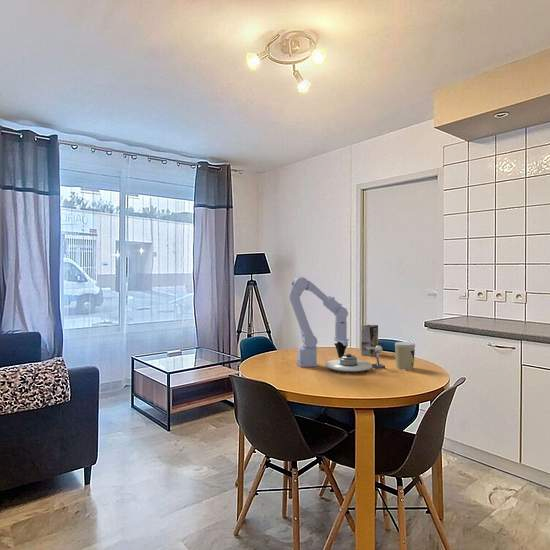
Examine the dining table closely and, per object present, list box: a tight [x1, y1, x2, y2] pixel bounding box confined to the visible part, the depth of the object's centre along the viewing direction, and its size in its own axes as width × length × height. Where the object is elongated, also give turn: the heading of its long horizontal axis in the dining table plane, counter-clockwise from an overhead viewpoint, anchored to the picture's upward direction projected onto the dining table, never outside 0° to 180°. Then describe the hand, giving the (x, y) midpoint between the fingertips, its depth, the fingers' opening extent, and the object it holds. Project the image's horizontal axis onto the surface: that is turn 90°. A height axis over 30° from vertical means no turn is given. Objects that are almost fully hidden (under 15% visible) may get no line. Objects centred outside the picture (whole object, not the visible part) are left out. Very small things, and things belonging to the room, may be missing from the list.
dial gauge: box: [366, 344, 386, 370], centre depth 205 cm, size 8×5×11 cm, turn 101°
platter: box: [324, 358, 373, 371], centre depth 203 cm, size 22×22×1 cm
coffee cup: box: [394, 341, 416, 371], centre depth 204 cm, size 9×9×12 cm
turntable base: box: [329, 368, 368, 375], centre depth 203 cm, size 18×18×2 cm
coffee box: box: [360, 324, 379, 357], centre depth 236 cm, size 9×6×16 cm
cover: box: [339, 353, 358, 366], centre depth 202 cm, size 8×8×5 cm
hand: (340, 357), depth 213 cm, fingers closed
